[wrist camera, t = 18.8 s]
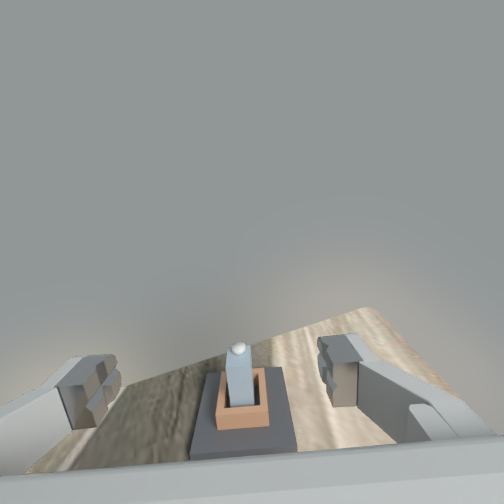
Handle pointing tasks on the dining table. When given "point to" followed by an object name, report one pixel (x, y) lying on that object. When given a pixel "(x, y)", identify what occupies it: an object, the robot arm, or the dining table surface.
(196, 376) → the dining table surface
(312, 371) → the dining table surface
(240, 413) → the plate
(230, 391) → the light blue tall block
